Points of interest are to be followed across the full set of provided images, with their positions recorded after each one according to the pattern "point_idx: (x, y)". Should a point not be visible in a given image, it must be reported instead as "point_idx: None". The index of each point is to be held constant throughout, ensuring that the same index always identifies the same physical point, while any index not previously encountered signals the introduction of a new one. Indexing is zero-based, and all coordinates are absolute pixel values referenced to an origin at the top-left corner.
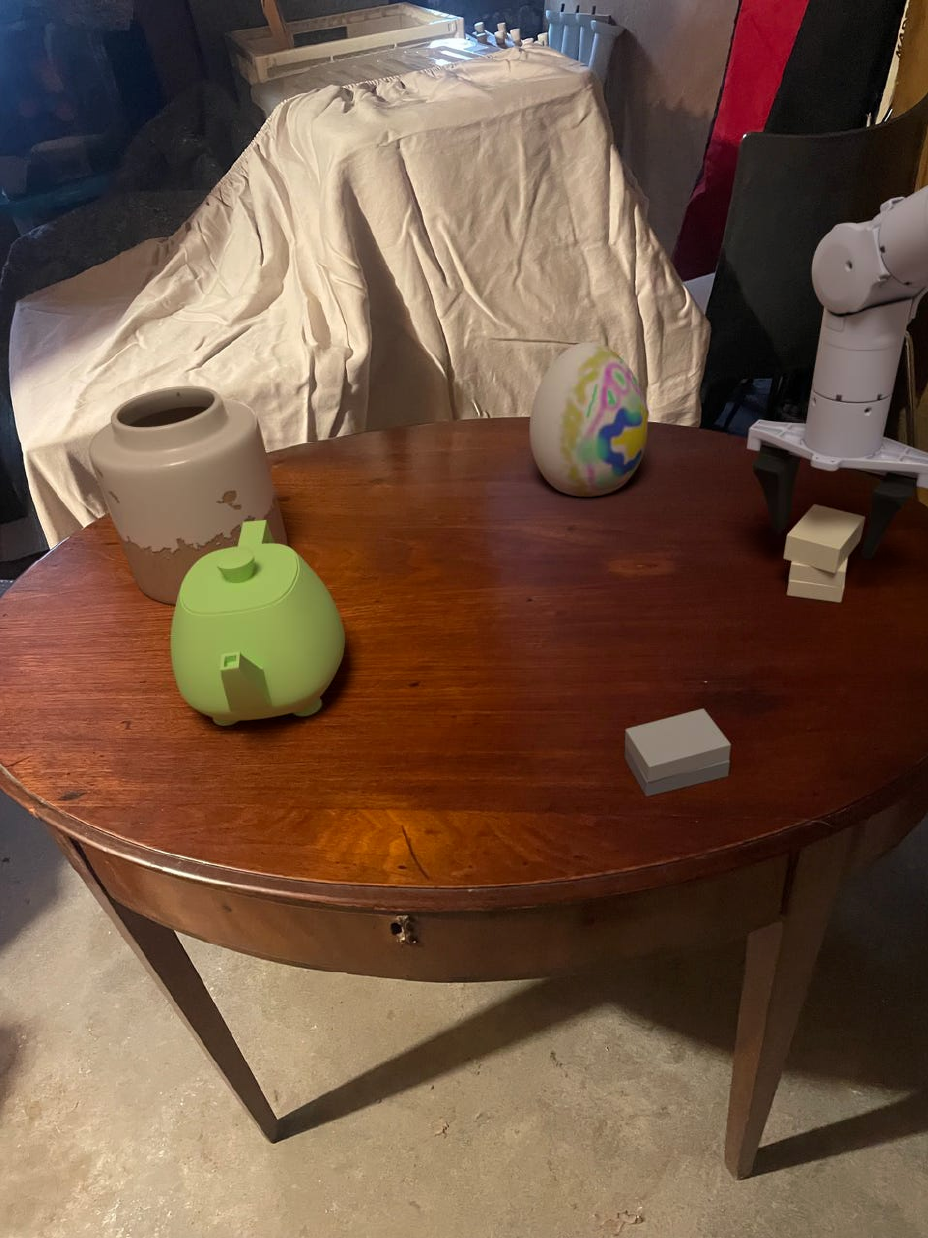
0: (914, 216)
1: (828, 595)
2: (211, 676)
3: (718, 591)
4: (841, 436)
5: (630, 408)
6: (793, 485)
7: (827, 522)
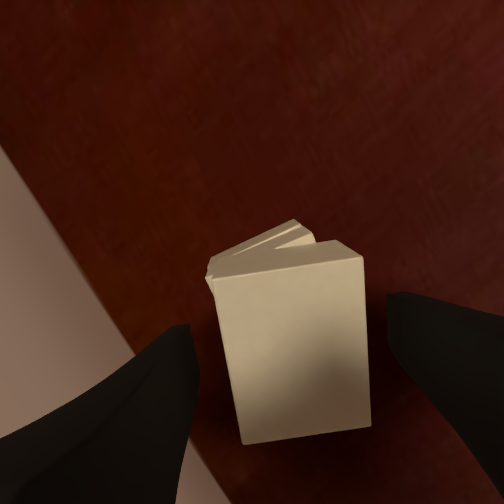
0: None
1: (229, 250)
2: None
3: (401, 150)
4: None
5: None
6: (467, 441)
7: (303, 373)
